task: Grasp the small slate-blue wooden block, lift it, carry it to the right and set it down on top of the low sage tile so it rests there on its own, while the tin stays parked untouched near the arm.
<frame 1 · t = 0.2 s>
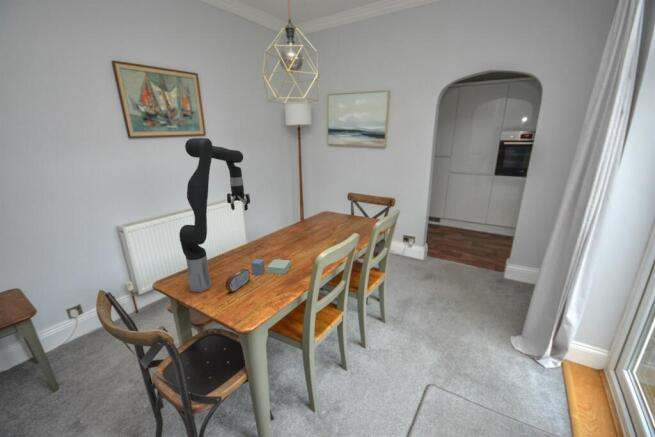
hand: (239, 210, 177), 29 cm above the table, fingers open, 8 cm apart
slate block: (258, 272, 158), on the table
sage tile: (279, 269, 161), on the table
tin: (239, 287, 144), on the table
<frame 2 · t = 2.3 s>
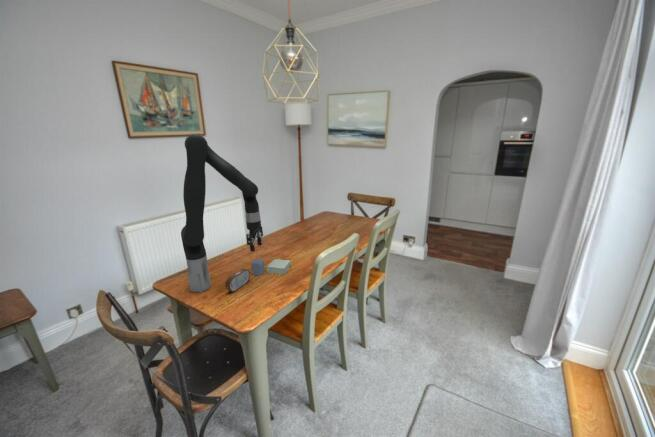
hand: (256, 248, 154), 15 cm above the table, fingers open, 8 cm apart
nothing on the table moved.
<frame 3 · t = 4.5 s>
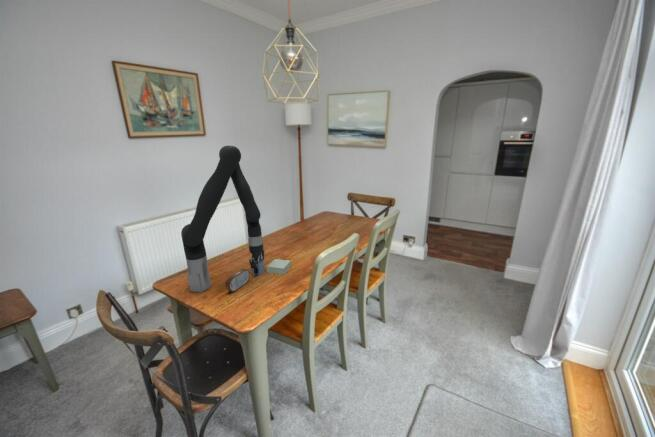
hand: (258, 271, 158), 1 cm above the table, fingers closed on slate block, 5 cm apart
slate block: (258, 272, 158), on the table, touching gripper
everything else where it was.
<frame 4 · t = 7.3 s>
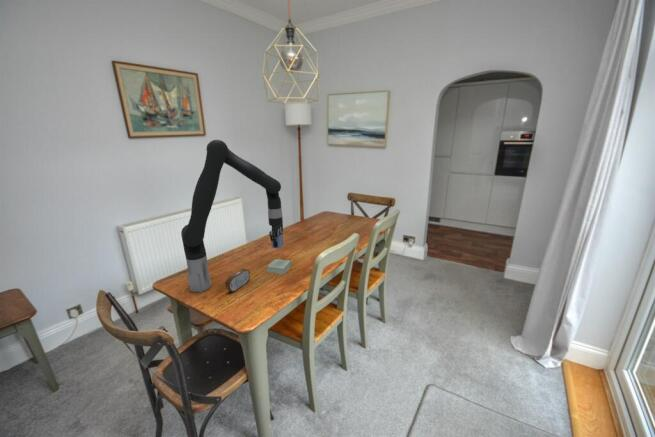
hand: (277, 245, 157), 15 cm above the table, fingers closed on slate block, 5 cm apart
slate block: (277, 246, 157), point 14 cm above the table, touching gripper
everything else where it was.
when the fingers open (6 cm above the table, at t = 10.0 s): slate block drops 1 cm, point 4 cm above the table.
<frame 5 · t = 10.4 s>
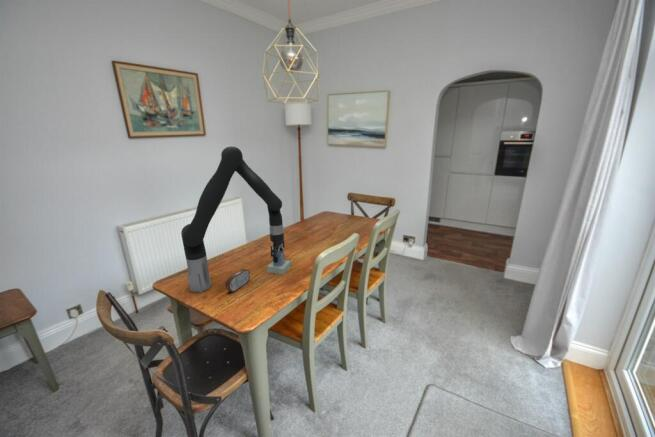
hand: (278, 259, 159), 6 cm above the table, fingers open, 8 cm apart
slate block: (279, 263, 160), point 4 cm above the table
everything else where it was.
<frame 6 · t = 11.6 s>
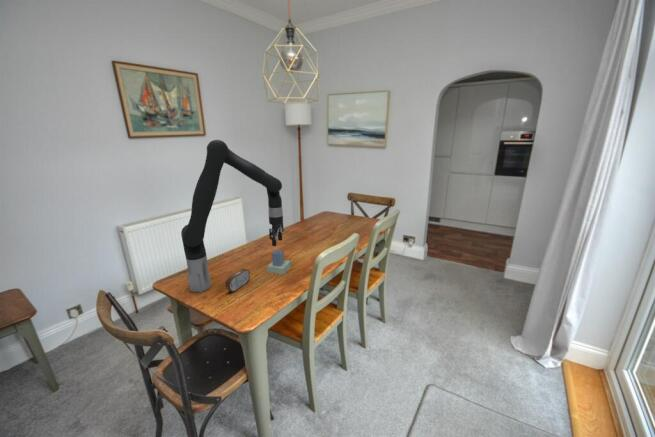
hand: (277, 242, 156), 16 cm above the table, fingers open, 8 cm apart
slate block: (278, 263, 160), point 4 cm above the table, touching sage tile
sage tile: (279, 269, 162), on the table, touching slate block
everything else where it was.
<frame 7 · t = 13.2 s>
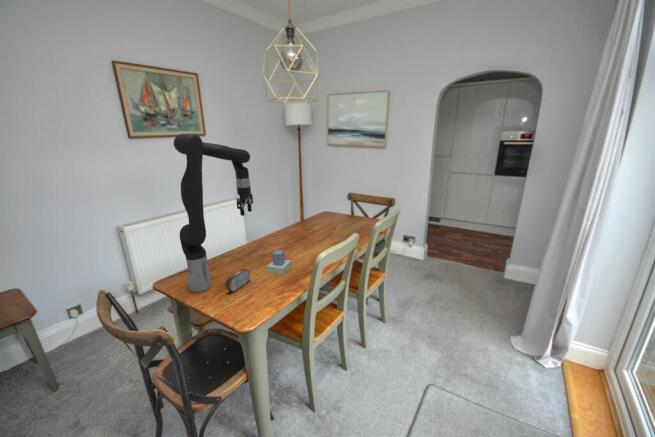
hand: (246, 213, 164), 30 cm above the table, fingers open, 8 cm apart
nothing on the table moved.
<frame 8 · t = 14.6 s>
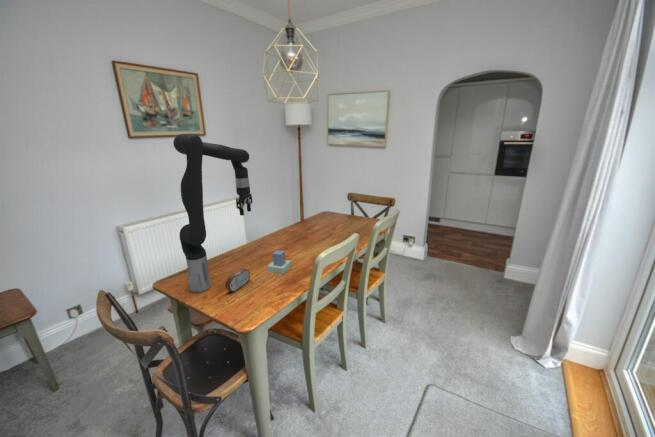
hand: (245, 213, 165), 30 cm above the table, fingers open, 8 cm apart
nothing on the table moved.
at the end: slate block inside the target area on the sage tile (0.4 cm from its centre), point 4.0 cm above the sage tile's base; slate block tilted 0°; the gripper is holding nothing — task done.
